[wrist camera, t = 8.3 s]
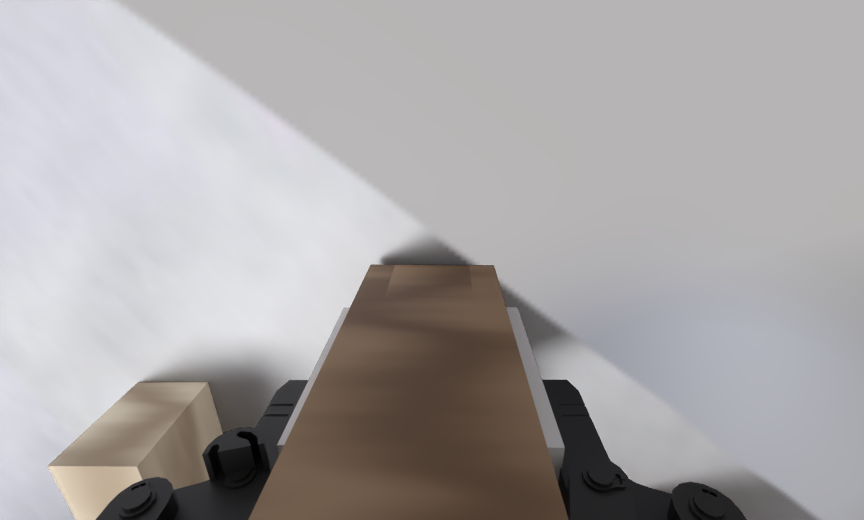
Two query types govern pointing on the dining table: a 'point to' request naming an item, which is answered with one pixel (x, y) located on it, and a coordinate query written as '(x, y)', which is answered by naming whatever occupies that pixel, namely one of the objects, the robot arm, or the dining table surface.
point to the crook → (418, 411)
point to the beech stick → (139, 445)
